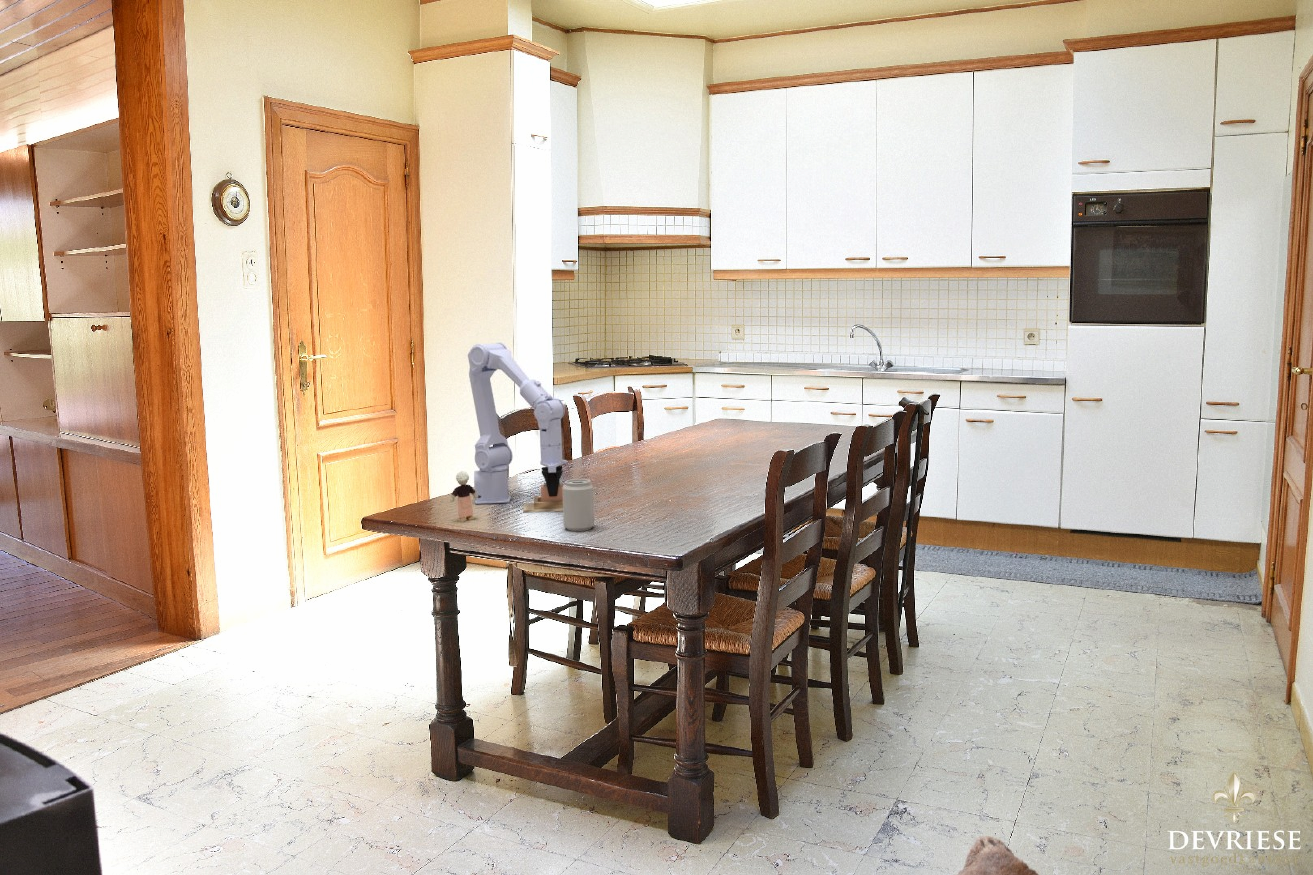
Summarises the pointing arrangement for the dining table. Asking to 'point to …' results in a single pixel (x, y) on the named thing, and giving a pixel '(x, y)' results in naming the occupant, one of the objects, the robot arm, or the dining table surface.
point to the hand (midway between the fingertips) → (553, 494)
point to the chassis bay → (543, 506)
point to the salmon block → (545, 494)
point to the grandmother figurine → (464, 497)
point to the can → (578, 505)
